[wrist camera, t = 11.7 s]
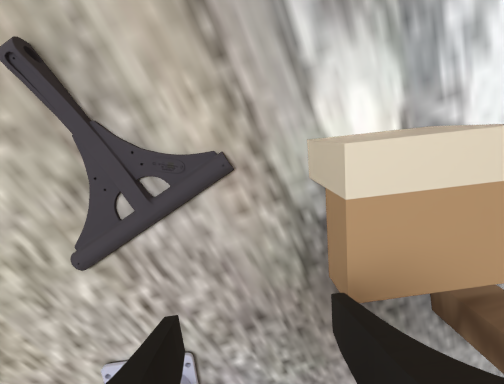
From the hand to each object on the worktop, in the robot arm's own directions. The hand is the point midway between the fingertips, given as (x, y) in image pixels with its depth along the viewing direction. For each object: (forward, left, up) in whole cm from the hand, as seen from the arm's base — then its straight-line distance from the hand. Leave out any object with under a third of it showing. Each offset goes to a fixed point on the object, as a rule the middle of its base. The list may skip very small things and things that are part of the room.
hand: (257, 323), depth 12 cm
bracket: (+9, +10, -11) cm, 17 cm away
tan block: (+3, -11, -10) cm, 15 cm away
